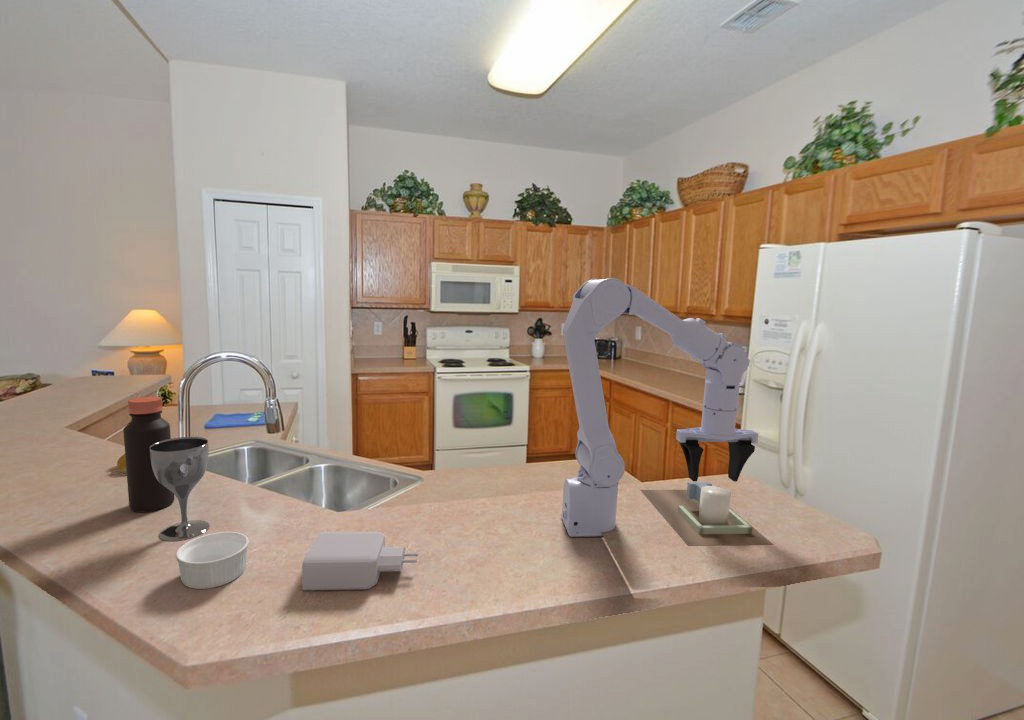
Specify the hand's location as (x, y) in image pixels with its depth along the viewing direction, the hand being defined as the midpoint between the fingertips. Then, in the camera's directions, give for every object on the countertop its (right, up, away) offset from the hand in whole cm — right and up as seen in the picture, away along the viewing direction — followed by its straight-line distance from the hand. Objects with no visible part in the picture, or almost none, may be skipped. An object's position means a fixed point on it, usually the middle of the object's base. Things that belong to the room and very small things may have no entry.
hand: (712, 479), depth 91 cm
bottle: (-104, -5, 0) cm, 104 cm away
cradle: (0, -8, 0) cm, 8 cm away
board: (-1, -8, +3) cm, 9 cm away
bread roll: (-120, -2, +19) cm, 121 cm away
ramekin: (-80, -9, -20) cm, 83 cm away
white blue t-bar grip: (0, -7, +2) cm, 8 cm away
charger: (-59, -10, -19) cm, 62 cm away
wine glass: (-92, -7, -8) cm, 92 cm away
